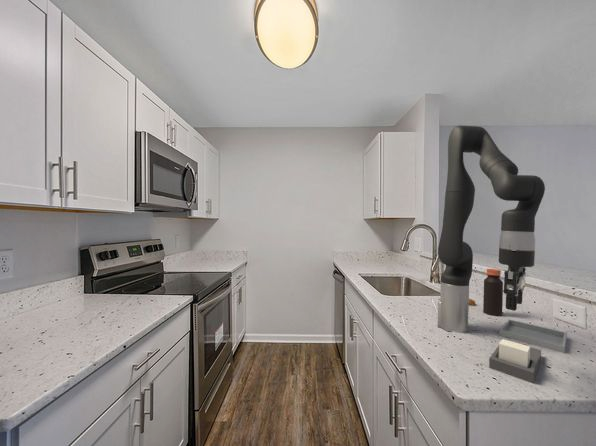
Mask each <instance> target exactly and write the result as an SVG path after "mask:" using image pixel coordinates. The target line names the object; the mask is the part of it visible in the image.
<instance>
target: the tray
mask: <svg viewBox="0 0 596 446" xmlns="http://www.w3.org/2000/svg"><path fill="white" fill-rule="evenodd" d="M498 333H499V334H498V336H501V337H503V338H507V339H511V340H514V341H519V342H522V343H525V344H530V345H533V346H537V347H539V348H544V349H548V350H550V351H551V350H552V351H555V352H559V353H562V354H565V352H566V345H567V340H568V339H567V338H568V332H565V331H560V330H557V329H552V328H547V327H544V326H540V325H534V324H531V323H526V322H523V321H522V322H521V321H517V320H514V319H511V318H510V319H507V320H506V321H505V323H504V324H503V325H502V326H501V328H500V329H499V332H498Z"/></svg>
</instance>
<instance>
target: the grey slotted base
mask: <svg viewBox="0 0 596 446" xmlns="http://www.w3.org/2000/svg"><path fill="white" fill-rule="evenodd" d="M529 347H530V368H527V367H524V366H521V365H518V364H515V363H512V362H509V361H506V360H503V359H500V358H499V345H497V347H496V348H495V350H494V351H493V352H492V354H491V356H490V357H489V361H488V363H489V364H488V368H490V369H491V370H495V371H498V372H501V373H503V374H505V375H508V376H512V377H515V378H517V379H520V380H523V381H525V382H526V381H527V382H528V383H531V384H534V381H535V378H536V376H537V372H538V370H539V366H540V363H541V358H542V350H541V349H538V348H536V347H531V346H529Z"/></svg>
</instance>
